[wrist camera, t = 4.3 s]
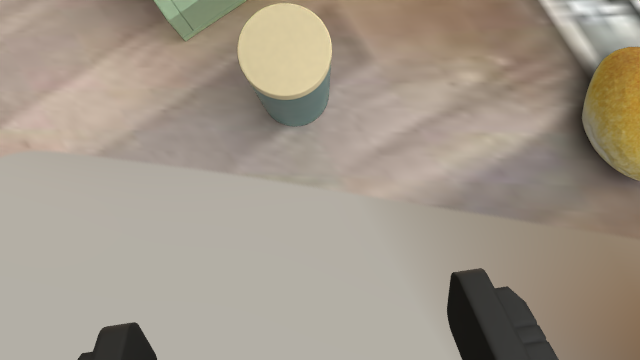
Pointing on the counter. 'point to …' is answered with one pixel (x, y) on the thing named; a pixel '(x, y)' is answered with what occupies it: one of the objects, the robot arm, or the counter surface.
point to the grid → (194, 13)
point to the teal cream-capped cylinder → (287, 62)
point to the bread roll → (616, 111)
